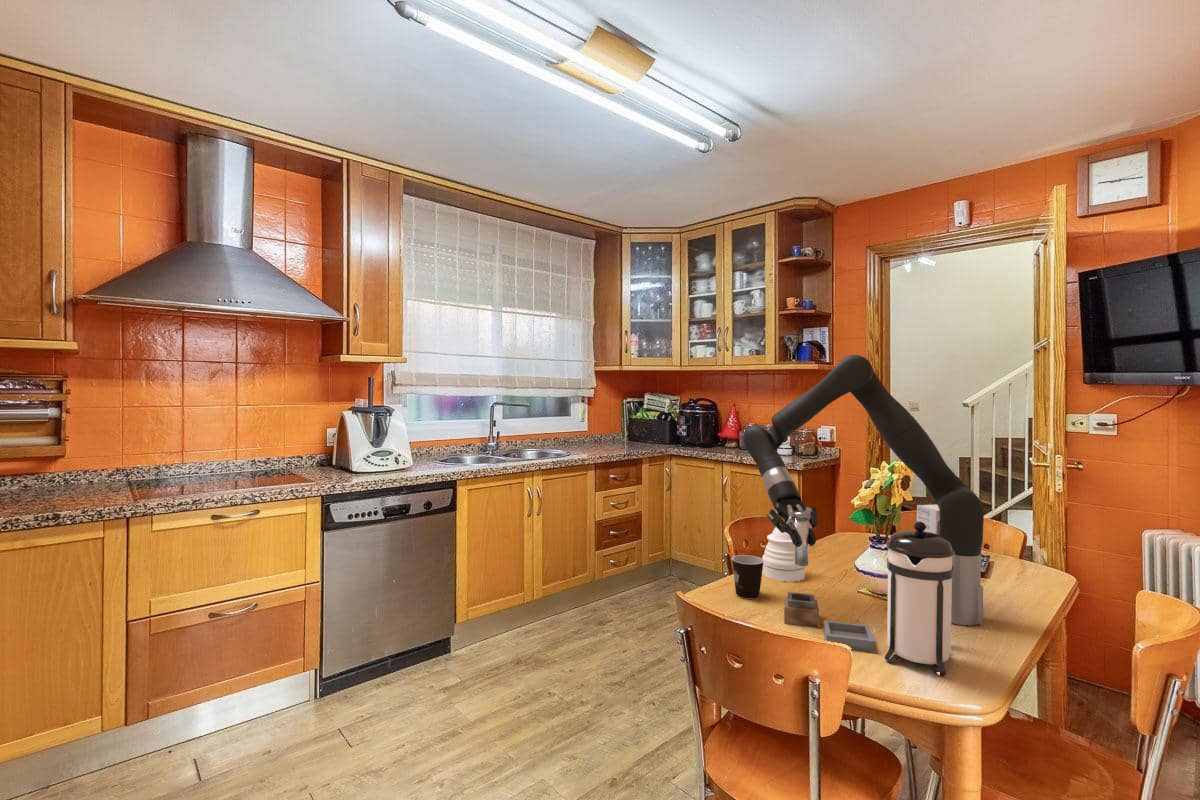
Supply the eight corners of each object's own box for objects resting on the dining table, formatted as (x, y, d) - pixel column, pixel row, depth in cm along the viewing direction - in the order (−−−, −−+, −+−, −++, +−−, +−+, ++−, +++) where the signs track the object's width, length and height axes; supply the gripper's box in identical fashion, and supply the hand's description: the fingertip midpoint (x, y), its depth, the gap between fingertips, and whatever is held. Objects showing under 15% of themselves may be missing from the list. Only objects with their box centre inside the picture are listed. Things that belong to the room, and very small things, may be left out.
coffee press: (980, 675, 118) (983, 529, 117) (905, 678, 117) (908, 531, 116) (926, 638, 136) (928, 510, 135) (860, 640, 134) (862, 512, 133)
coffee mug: (764, 601, 159) (764, 565, 158) (732, 599, 160) (732, 563, 160) (761, 586, 170) (761, 553, 170) (731, 584, 172) (731, 551, 171)
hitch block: (816, 614, 149) (817, 593, 149) (818, 627, 142) (819, 605, 142) (784, 611, 152) (784, 590, 152) (784, 623, 144) (784, 601, 144)
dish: (868, 635, 137) (868, 625, 137) (874, 652, 128) (874, 641, 128) (823, 630, 140) (823, 620, 140) (826, 646, 131) (826, 635, 131)
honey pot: (781, 566, 189) (782, 511, 189) (814, 577, 178) (814, 519, 178) (753, 572, 183) (753, 516, 182) (785, 585, 172) (786, 524, 171)
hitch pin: (810, 562, 148) (810, 510, 147) (810, 567, 144) (810, 514, 143) (792, 561, 149) (792, 509, 149) (793, 565, 145) (793, 513, 145)
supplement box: (934, 559, 197) (935, 510, 196) (914, 551, 206) (915, 504, 205) (959, 557, 199) (959, 508, 198) (938, 550, 208) (938, 503, 207)
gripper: (761, 480, 152) (786, 539, 140) (809, 478, 155) (838, 535, 143) (752, 497, 157) (775, 554, 145) (798, 494, 160) (825, 550, 148)
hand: (806, 544), depth 144 cm, fingers closed on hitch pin, 3 cm apart
